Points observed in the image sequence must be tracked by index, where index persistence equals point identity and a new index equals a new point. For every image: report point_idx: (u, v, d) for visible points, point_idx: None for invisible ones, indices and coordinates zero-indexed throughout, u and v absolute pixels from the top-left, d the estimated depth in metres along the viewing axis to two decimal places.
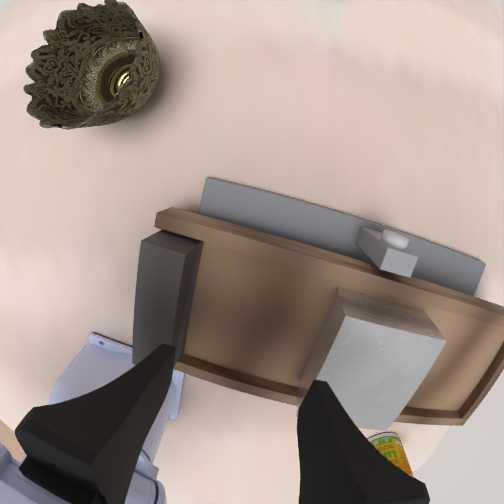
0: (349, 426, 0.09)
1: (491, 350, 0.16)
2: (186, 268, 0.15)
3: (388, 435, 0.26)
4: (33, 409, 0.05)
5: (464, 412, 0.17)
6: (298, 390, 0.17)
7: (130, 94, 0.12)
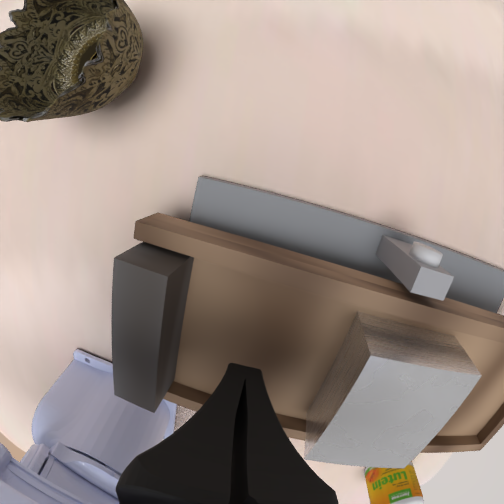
0: (267, 416, 0.09)
1: None
2: (170, 292, 0.11)
3: None
4: (139, 459, 0.05)
5: (483, 437, 0.13)
6: (306, 426, 0.14)
7: (101, 75, 0.09)
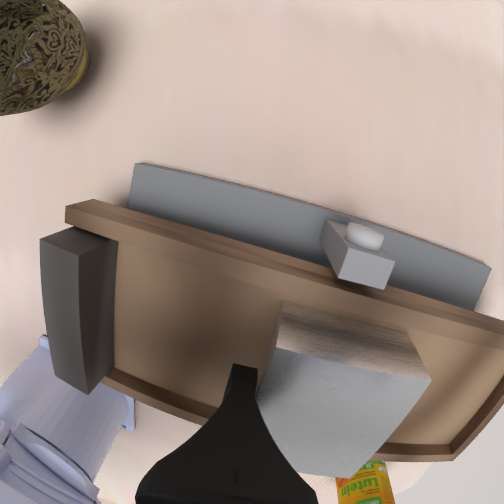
0: (251, 413, 0.08)
1: (493, 377, 0.12)
2: (86, 272, 0.11)
3: None
4: (159, 466, 0.05)
5: (455, 447, 0.13)
6: None
7: (35, 74, 0.09)
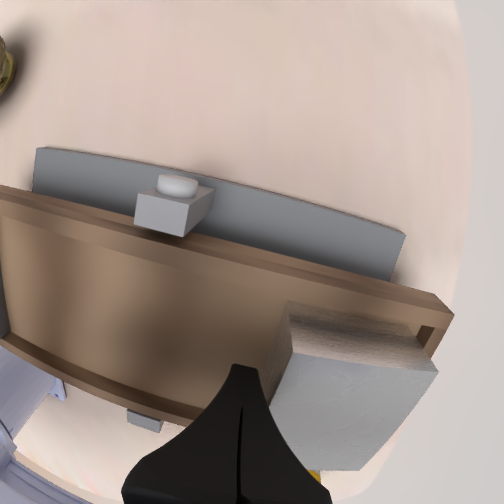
0: (262, 415, 0.09)
1: None
2: None
3: None
4: (145, 461, 0.05)
5: None
6: None
7: None
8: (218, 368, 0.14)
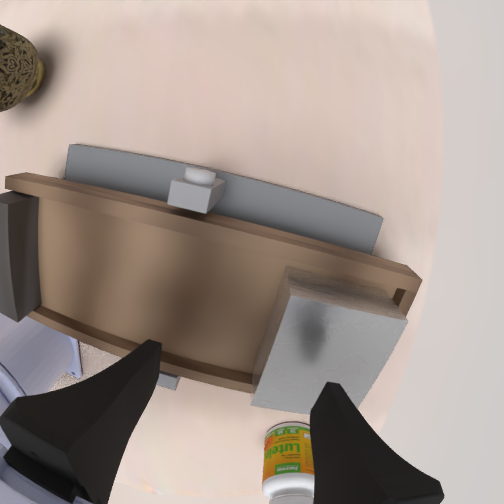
0: (364, 427, 0.09)
1: None
2: (13, 217, 0.13)
3: (296, 425, 0.26)
4: (16, 398, 0.05)
5: None
6: None
7: (0, 87, 0.12)
8: (229, 325, 0.17)
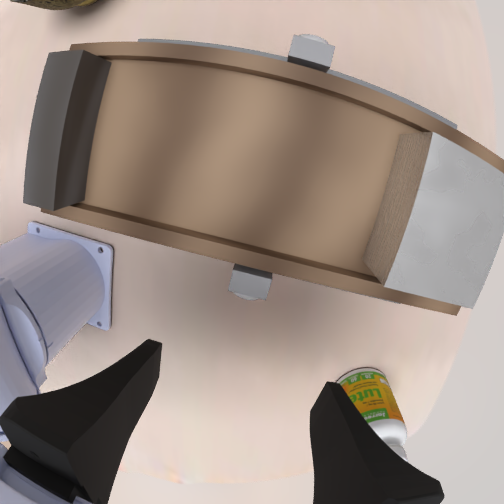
0: (364, 427, 0.09)
1: None
2: (83, 69, 0.11)
3: (370, 370, 0.23)
4: (16, 398, 0.05)
5: None
6: (369, 265, 0.14)
7: None
8: (341, 202, 0.15)
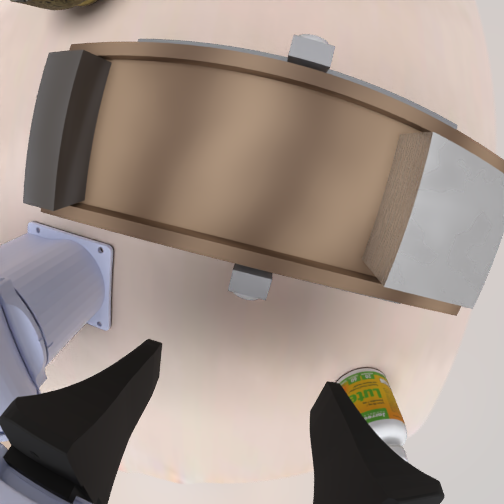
0: (364, 427, 0.09)
1: None
2: (83, 69, 0.11)
3: (370, 370, 0.23)
4: (16, 398, 0.05)
5: None
6: (369, 265, 0.14)
7: None
8: (341, 202, 0.15)
